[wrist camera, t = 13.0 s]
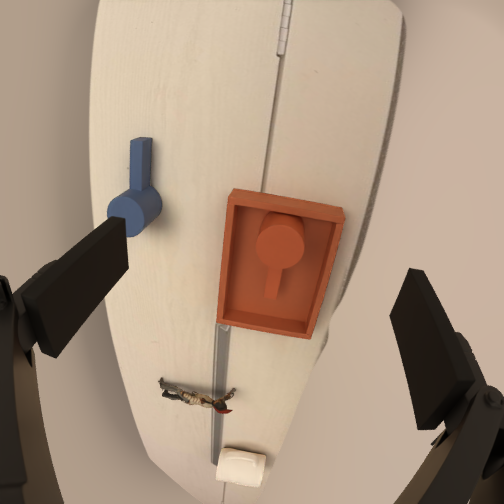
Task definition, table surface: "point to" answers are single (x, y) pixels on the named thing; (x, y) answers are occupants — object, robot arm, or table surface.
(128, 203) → the blue scoop
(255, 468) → the mug
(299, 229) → the terracotta scoop
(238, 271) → the tray
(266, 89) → the table surface
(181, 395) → the figurine
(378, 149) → the table surface
